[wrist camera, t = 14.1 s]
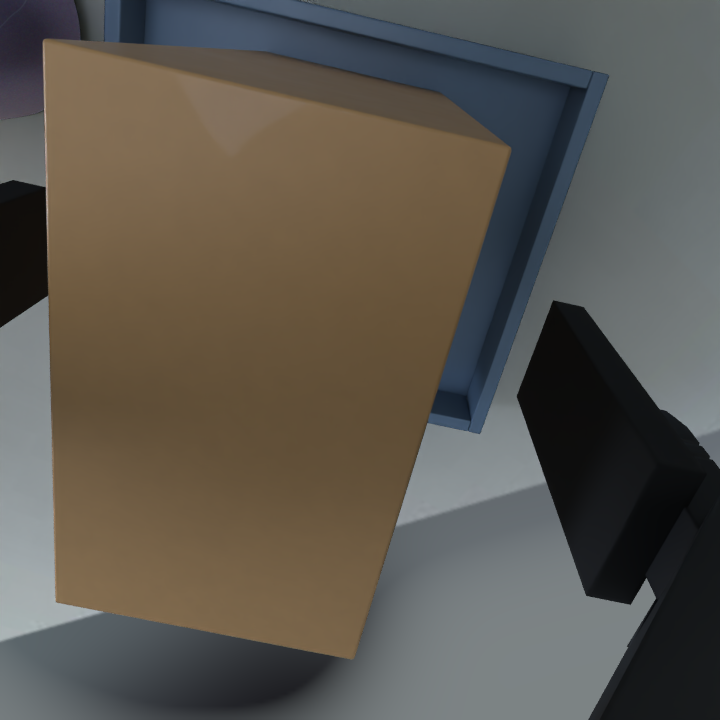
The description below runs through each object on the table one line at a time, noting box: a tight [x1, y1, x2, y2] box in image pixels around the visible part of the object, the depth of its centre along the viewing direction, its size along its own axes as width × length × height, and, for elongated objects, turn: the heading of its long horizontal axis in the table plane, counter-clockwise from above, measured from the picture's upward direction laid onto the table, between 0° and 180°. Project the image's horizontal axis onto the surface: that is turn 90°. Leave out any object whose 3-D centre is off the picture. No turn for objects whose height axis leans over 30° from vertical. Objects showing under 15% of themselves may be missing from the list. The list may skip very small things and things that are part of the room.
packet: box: [43, 38, 511, 659], centre depth 16 cm, size 6×10×14 cm, turn 168°
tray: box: [104, 0, 609, 434], centre depth 22 cm, size 15×13×2 cm
